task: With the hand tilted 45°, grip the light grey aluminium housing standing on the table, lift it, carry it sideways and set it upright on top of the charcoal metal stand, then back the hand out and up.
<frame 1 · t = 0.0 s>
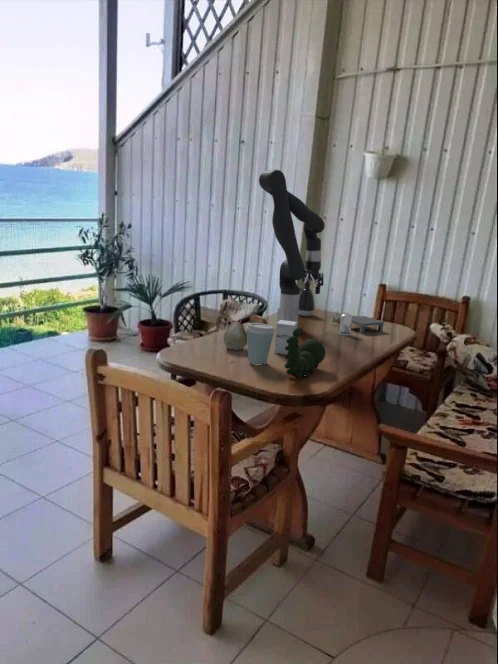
hand: (312, 292, 250), 17 cm above the table, fingers open, 8 cm apart
toy figurine: (304, 373, 181), on the table
fruit: (235, 349, 206), on the table
supplement box: (284, 352, 206), on the table
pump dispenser: (304, 315, 280), on the table
tin: (257, 334, 233), on the table
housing: (344, 334, 241), on the table
stand: (362, 329, 253), on the table
disposable coffee cup: (258, 363, 189), on the table
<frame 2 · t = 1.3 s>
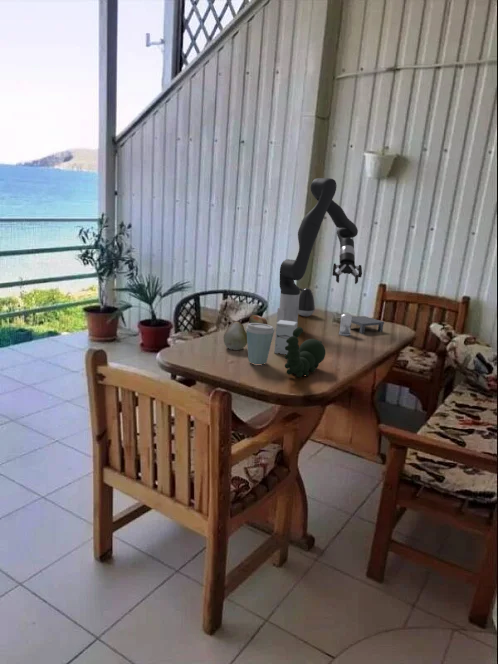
hand: (347, 282, 247), 23 cm above the table, fingers open, 8 cm apart
nothing on the table moved.
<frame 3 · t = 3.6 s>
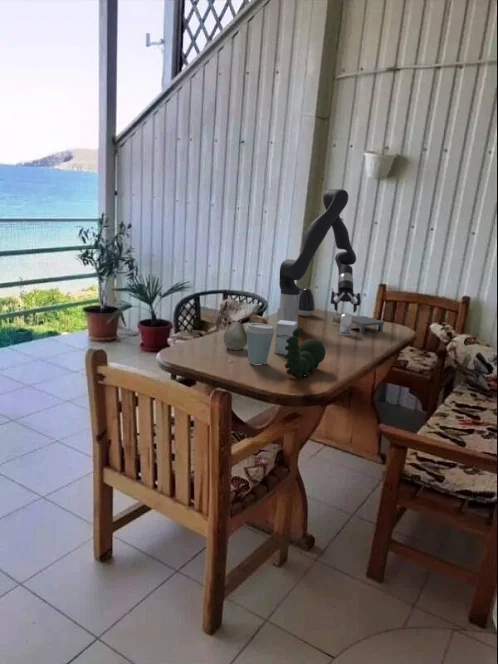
hand: (345, 311, 244), 10 cm above the table, fingers open, 8 cm apart
nothing on the table moved.
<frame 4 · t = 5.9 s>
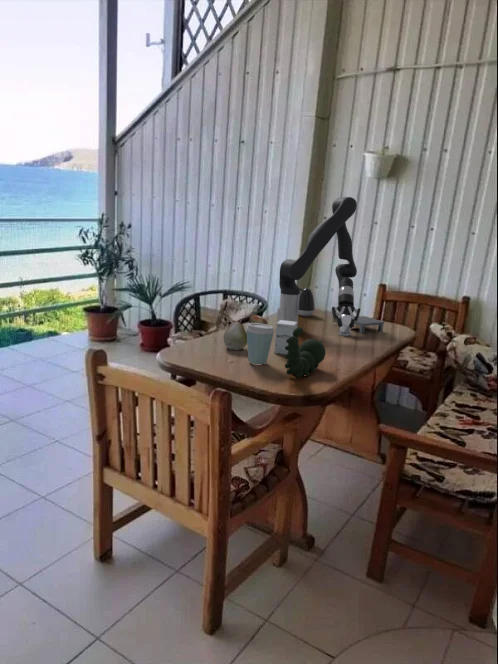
hand: (345, 326, 238), 4 cm above the table, fingers closed on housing, 5 cm apart
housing: (344, 334, 241), on the table, touching gripper
everything else where it was.
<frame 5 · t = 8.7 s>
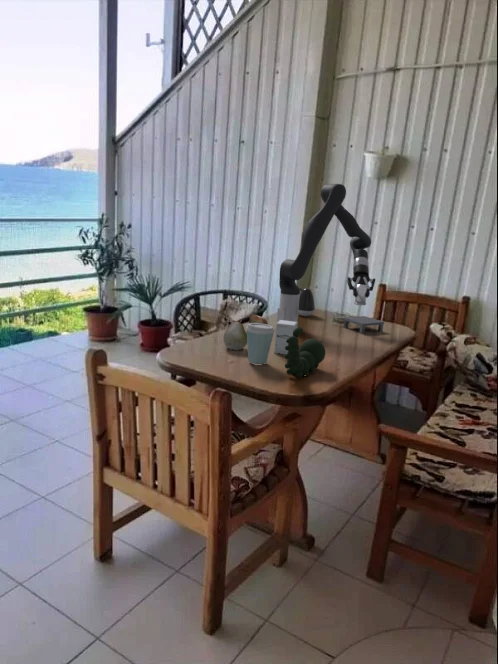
hand: (361, 296, 243), 18 cm above the table, fingers closed on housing, 5 cm apart
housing: (360, 304, 246), point 14 cm above the table, touching gripper
everything else where it was.
when the fingers open (11 cm above the table, at t = 11.5 s): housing drops 1 cm, resting on stand.
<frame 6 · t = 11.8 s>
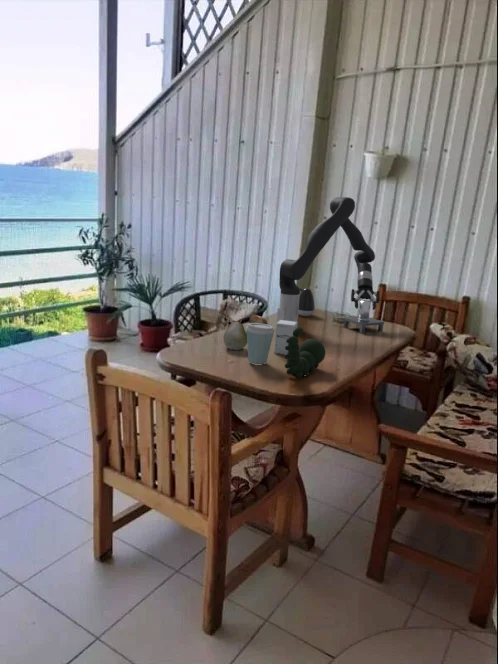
hand: (365, 308, 249), 11 cm above the table, fingers open, 7 cm apart
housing: (363, 319, 252), point 5 cm above the table, touching stand
everything else where it was.
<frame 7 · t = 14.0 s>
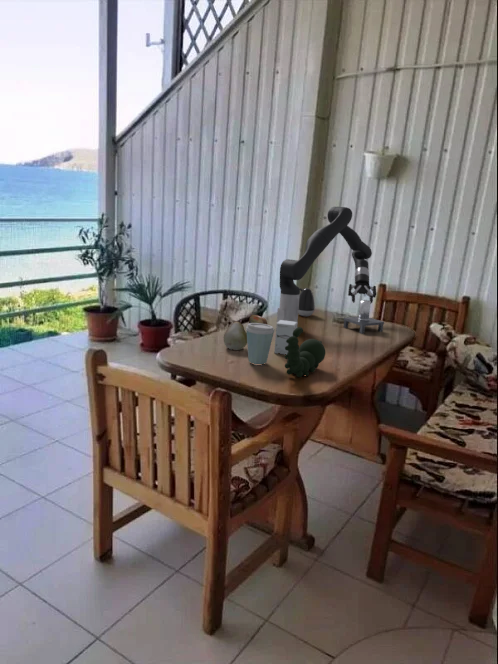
hand: (362, 302, 262), 12 cm above the table, fingers open, 8 cm apart
nothing on the table moved.
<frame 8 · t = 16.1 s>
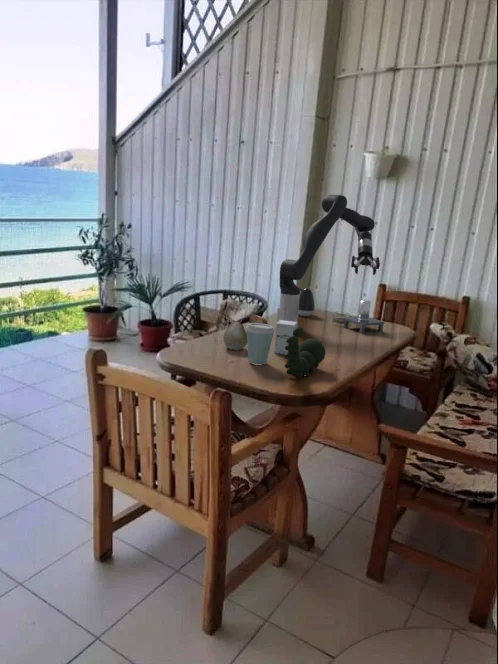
hand: (365, 273, 258), 27 cm above the table, fingers open, 8 cm apart
nothing on the table moved.
at the end: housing inside the target area on the stand (0.1 cm from its centre), point 5.0 cm above the stand's base; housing tilted 0°; the gripper is holding nothing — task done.
